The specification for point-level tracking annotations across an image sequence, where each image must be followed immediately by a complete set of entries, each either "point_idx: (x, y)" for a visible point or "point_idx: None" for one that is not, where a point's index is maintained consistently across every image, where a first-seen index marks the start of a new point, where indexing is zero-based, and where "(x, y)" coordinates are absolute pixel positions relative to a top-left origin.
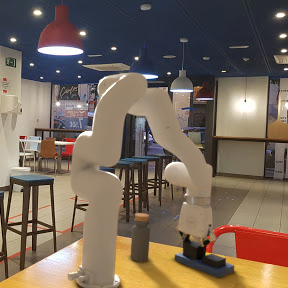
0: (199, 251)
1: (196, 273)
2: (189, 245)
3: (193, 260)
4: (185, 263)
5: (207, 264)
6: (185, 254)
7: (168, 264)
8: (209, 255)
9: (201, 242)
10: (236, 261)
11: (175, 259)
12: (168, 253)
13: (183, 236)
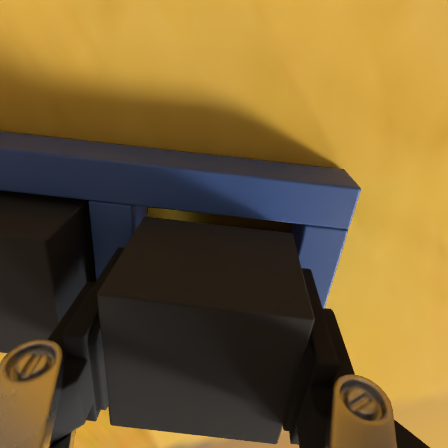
0: (96, 286)
1: (48, 44)
2: (214, 303)
3: (150, 188)
4: (226, 158)
5: (24, 204)
6: (261, 234)
7: (342, 9)
8: (38, 309)
9: (21, 393)
10: (79, 428)
11: (335, 169)
12: (445, 262)
13: (370, 432)
